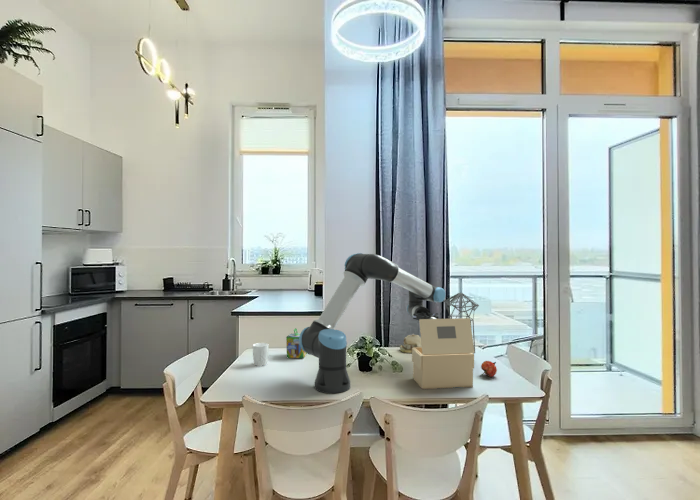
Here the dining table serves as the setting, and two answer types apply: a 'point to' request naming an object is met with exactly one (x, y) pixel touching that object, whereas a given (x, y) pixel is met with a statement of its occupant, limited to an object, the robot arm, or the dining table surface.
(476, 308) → the geometric lantern
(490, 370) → the pomegranate
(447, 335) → the lid flap
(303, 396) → the dining table surface
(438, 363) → the carton
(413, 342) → the ceramic model
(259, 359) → the white cup
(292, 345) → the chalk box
